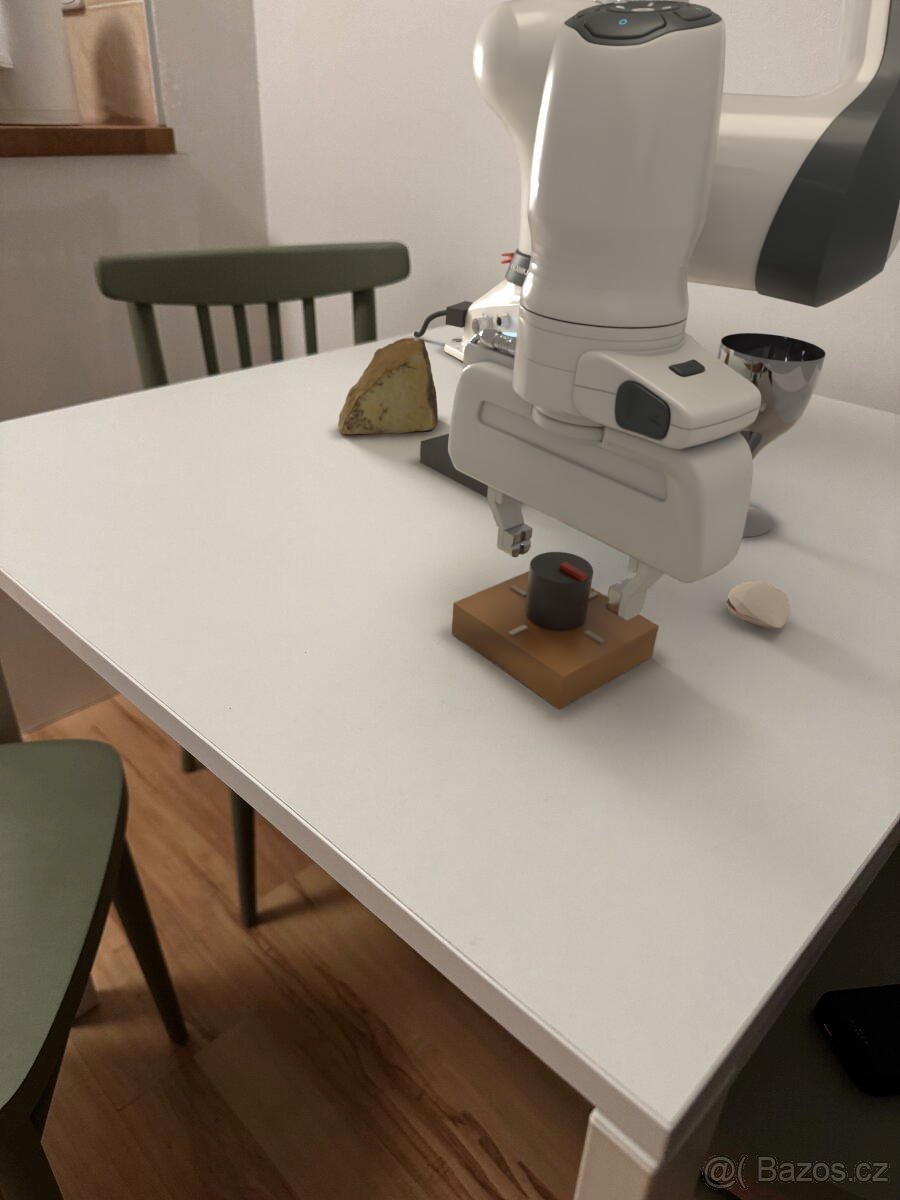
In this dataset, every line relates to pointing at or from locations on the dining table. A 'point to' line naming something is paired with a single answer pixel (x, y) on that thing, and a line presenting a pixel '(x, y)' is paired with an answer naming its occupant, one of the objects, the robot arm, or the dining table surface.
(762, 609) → the clam shell
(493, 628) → the volume panel
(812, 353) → the wine glass
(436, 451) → the button base
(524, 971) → the dining table surface
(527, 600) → the volume knob
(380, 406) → the rock
